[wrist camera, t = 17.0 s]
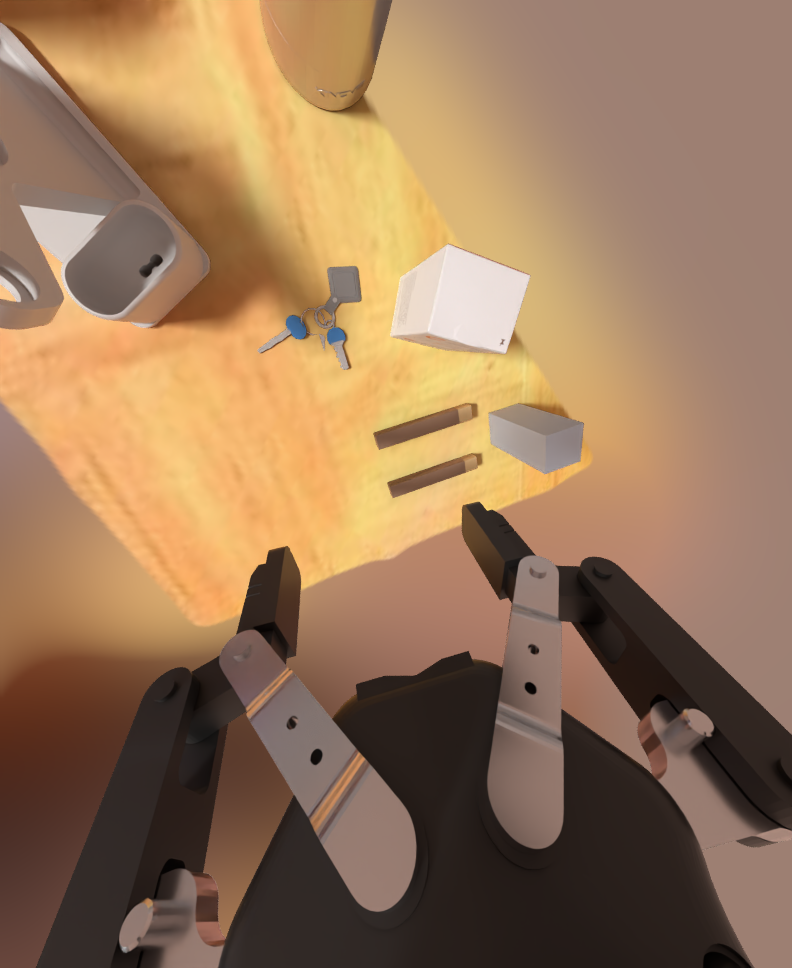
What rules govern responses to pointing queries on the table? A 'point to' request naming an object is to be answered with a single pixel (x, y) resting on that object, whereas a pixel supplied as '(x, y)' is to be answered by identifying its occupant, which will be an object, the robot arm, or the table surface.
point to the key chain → (342, 291)
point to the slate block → (537, 437)
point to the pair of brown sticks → (420, 429)
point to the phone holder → (79, 212)
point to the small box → (459, 302)
